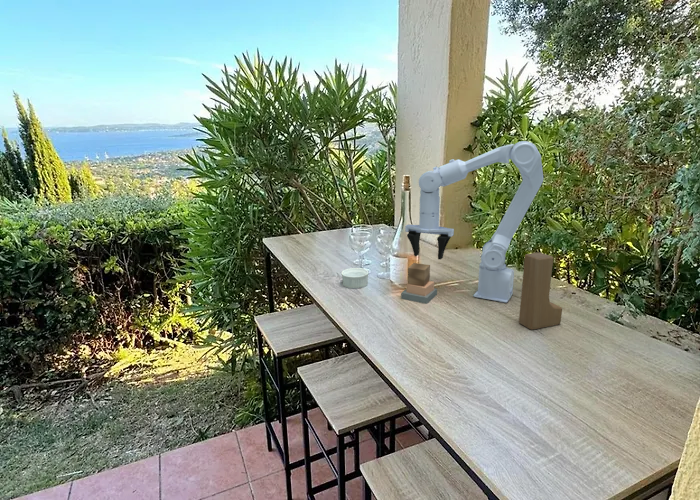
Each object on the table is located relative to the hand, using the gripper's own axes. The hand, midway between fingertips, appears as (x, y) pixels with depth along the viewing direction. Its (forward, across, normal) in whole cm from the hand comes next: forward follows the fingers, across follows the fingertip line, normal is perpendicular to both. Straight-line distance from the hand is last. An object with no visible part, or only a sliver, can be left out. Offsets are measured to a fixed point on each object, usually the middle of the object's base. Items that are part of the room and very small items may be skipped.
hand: (428, 256), depth 120 cm
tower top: (+9, 0, -7) cm, 11 cm away
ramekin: (+11, -22, -7) cm, 25 cm away
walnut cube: (+6, 0, -7) cm, 9 cm away
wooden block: (+11, +33, -9) cm, 36 cm away
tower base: (+11, 0, -7) cm, 13 cm away
